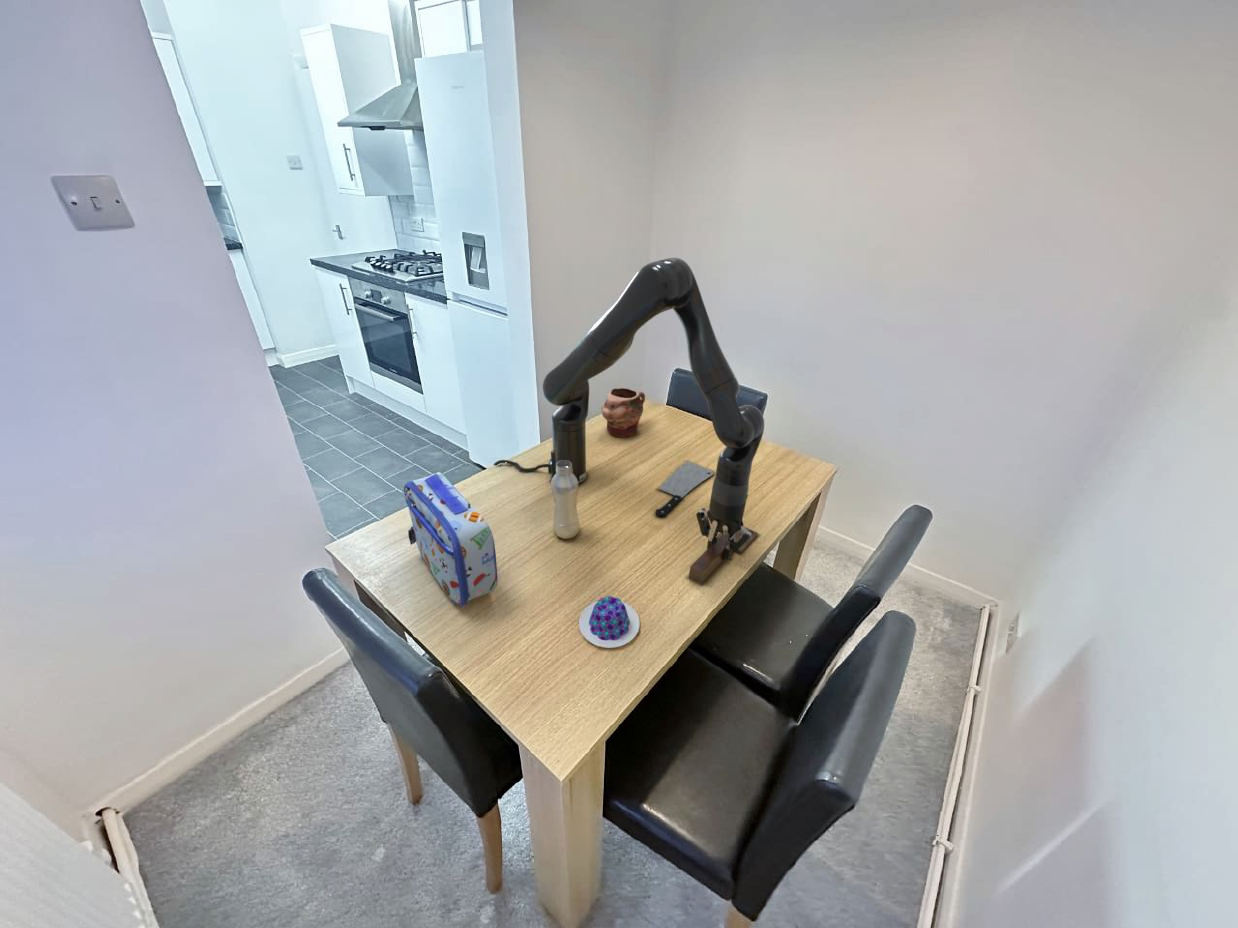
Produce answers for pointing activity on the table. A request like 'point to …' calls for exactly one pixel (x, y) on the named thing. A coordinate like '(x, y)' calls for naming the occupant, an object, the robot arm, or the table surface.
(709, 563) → the spatula
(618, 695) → the table surface
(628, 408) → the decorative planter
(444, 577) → the lunch box
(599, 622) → the pudding
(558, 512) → the plastic bottle
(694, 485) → the cleaver
